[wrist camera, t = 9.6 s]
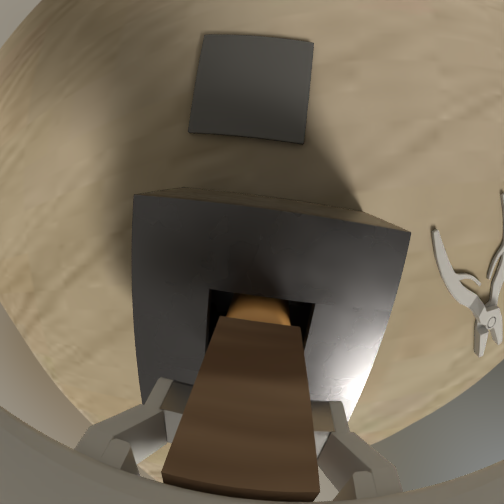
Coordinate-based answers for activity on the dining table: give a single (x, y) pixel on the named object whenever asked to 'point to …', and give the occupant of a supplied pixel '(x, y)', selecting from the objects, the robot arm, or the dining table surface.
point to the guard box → (261, 281)
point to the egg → (259, 309)
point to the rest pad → (252, 87)
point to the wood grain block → (248, 418)
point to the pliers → (484, 314)
